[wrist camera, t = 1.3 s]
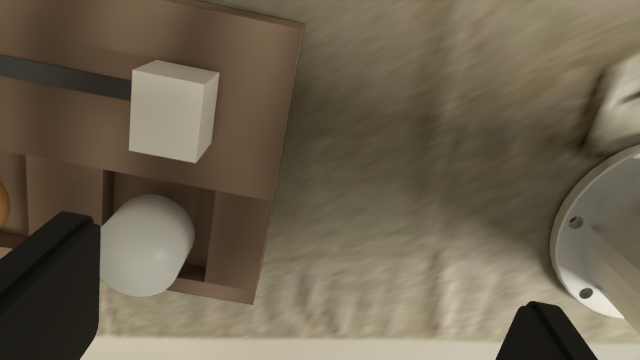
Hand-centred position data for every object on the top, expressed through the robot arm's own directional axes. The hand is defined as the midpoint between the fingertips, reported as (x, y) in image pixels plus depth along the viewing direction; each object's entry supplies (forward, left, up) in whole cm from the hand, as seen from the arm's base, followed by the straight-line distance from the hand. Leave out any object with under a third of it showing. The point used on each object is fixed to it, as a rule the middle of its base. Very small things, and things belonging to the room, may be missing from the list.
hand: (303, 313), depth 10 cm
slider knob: (+7, 0, -14) cm, 16 cm away
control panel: (+13, +3, -18) cm, 22 cm away
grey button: (+8, +7, -14) cm, 18 cm away
